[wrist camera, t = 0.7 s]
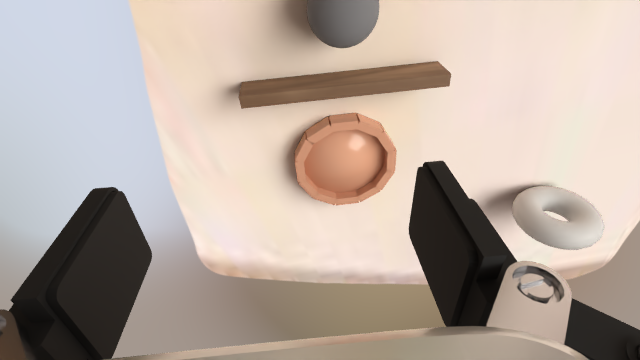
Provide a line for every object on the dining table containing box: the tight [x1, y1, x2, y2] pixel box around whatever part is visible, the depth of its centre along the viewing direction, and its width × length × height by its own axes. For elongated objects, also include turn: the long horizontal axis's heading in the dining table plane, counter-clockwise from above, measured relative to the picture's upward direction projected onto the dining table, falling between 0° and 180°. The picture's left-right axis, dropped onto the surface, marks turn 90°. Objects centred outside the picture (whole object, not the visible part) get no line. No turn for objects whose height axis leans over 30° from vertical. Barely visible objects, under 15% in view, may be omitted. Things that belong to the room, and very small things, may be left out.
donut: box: [512, 186, 604, 250], centre depth 44 cm, size 10×4×10 cm, turn 93°
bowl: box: [294, 113, 396, 205], centre depth 41 cm, size 12×12×2 cm
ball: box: [307, 0, 379, 48], centre depth 29 cm, size 6×6×6 cm
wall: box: [239, 61, 451, 109], centre depth 34 cm, size 1×20×4 cm, turn 95°
